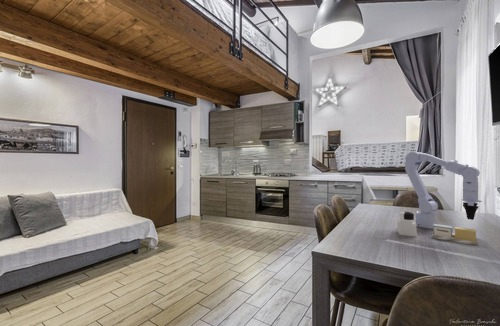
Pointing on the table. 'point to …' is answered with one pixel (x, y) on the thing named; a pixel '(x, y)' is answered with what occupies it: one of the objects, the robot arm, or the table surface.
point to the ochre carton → (465, 234)
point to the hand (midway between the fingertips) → (470, 218)
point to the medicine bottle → (406, 224)
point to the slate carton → (442, 230)
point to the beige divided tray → (455, 239)
